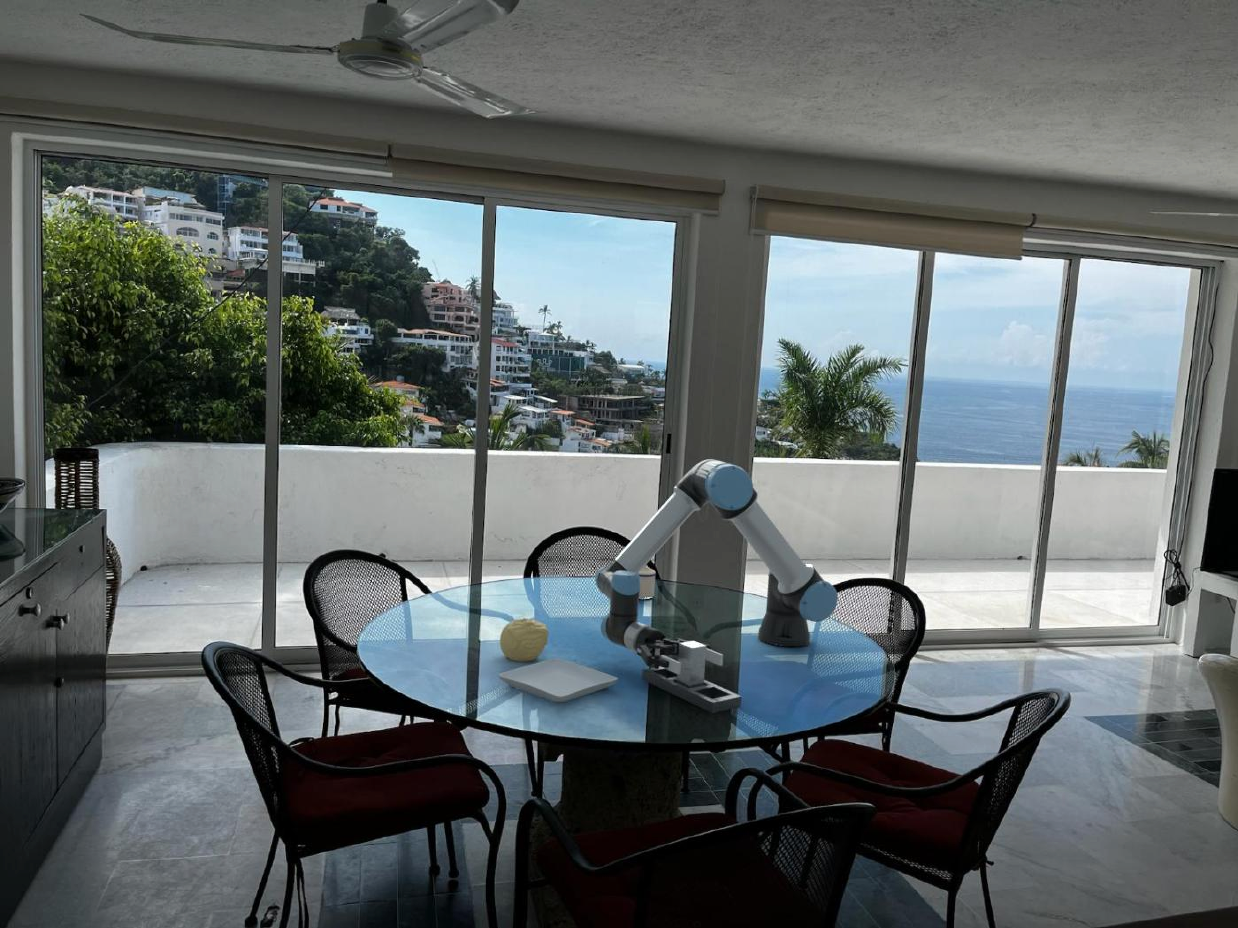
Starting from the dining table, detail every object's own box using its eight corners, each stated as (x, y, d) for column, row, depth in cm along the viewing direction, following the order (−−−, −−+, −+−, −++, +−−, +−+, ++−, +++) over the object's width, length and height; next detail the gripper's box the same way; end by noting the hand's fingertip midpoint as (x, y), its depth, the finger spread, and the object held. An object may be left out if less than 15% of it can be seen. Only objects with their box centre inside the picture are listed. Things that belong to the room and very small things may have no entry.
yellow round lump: (514, 667, 241) (516, 626, 240) (491, 654, 251) (493, 614, 250) (552, 661, 248) (554, 621, 247) (529, 648, 257) (531, 610, 256)
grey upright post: (690, 688, 234) (693, 640, 233) (702, 693, 230) (706, 645, 229) (676, 690, 231) (679, 643, 230) (688, 696, 227) (692, 648, 226)
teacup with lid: (654, 595, 326) (657, 561, 325) (653, 601, 317) (656, 567, 316) (620, 592, 327) (622, 559, 325) (618, 598, 318) (620, 564, 316)
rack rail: (669, 673, 243) (670, 664, 243) (740, 706, 223) (741, 696, 223) (641, 679, 238) (642, 669, 238) (712, 713, 218) (713, 702, 217)
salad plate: (555, 668, 244) (556, 655, 243) (619, 690, 230) (620, 676, 230) (494, 687, 227) (495, 673, 227) (560, 711, 214) (560, 697, 213)
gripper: (681, 648, 252) (737, 671, 235) (605, 661, 237) (659, 687, 220) (683, 620, 251) (739, 642, 234) (607, 632, 236) (661, 656, 219)
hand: (701, 664), depth 227 cm, fingers open, 13 cm apart
